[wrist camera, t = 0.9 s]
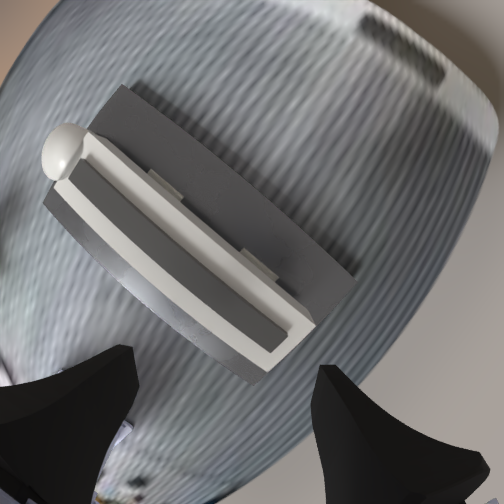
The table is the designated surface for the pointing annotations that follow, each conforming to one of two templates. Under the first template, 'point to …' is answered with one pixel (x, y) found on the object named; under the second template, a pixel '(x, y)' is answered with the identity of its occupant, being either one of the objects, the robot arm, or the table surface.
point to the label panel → (212, 214)
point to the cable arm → (174, 247)
